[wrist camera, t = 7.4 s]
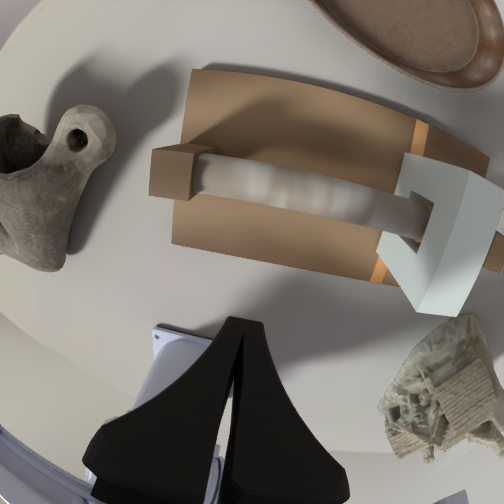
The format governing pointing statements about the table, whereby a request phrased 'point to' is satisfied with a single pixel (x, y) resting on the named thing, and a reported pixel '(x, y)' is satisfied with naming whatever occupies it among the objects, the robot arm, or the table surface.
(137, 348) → the table surface
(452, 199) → the collar
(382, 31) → the plant saucer
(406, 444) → the ceramic cottage
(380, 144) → the rod stand
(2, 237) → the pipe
